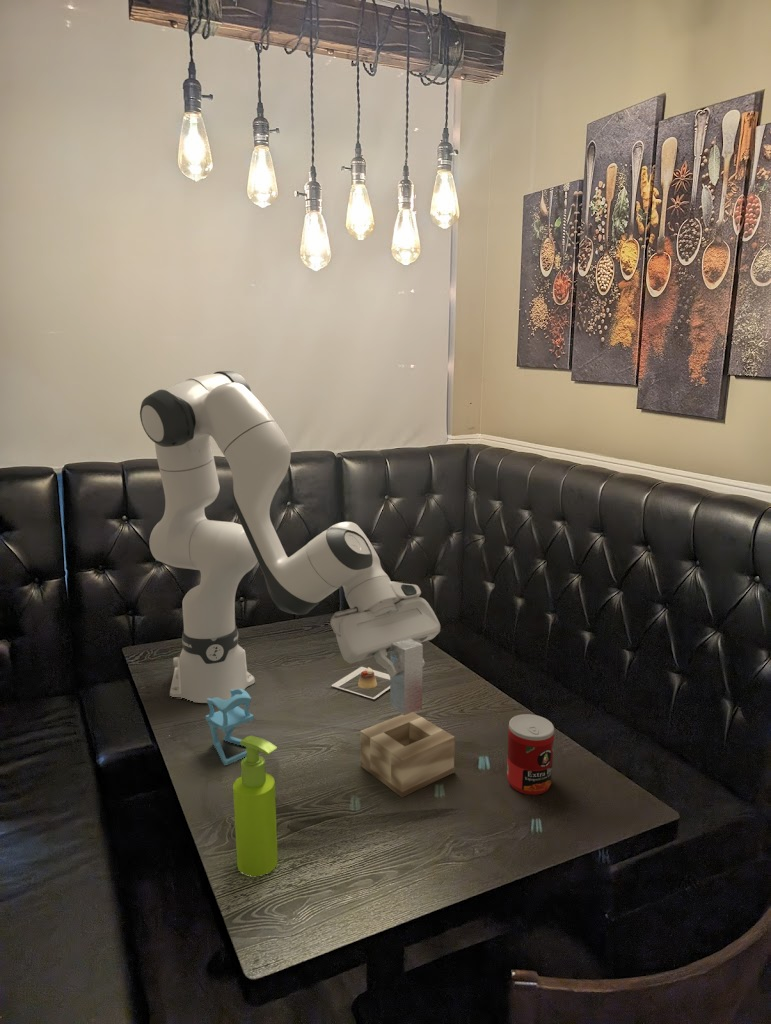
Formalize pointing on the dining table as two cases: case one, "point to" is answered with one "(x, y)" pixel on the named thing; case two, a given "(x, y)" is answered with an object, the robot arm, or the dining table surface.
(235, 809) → the soap dispenser
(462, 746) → the dining table surface
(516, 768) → the canned food
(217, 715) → the chair
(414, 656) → the grey square peg
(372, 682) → the dessert
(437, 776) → the frame
